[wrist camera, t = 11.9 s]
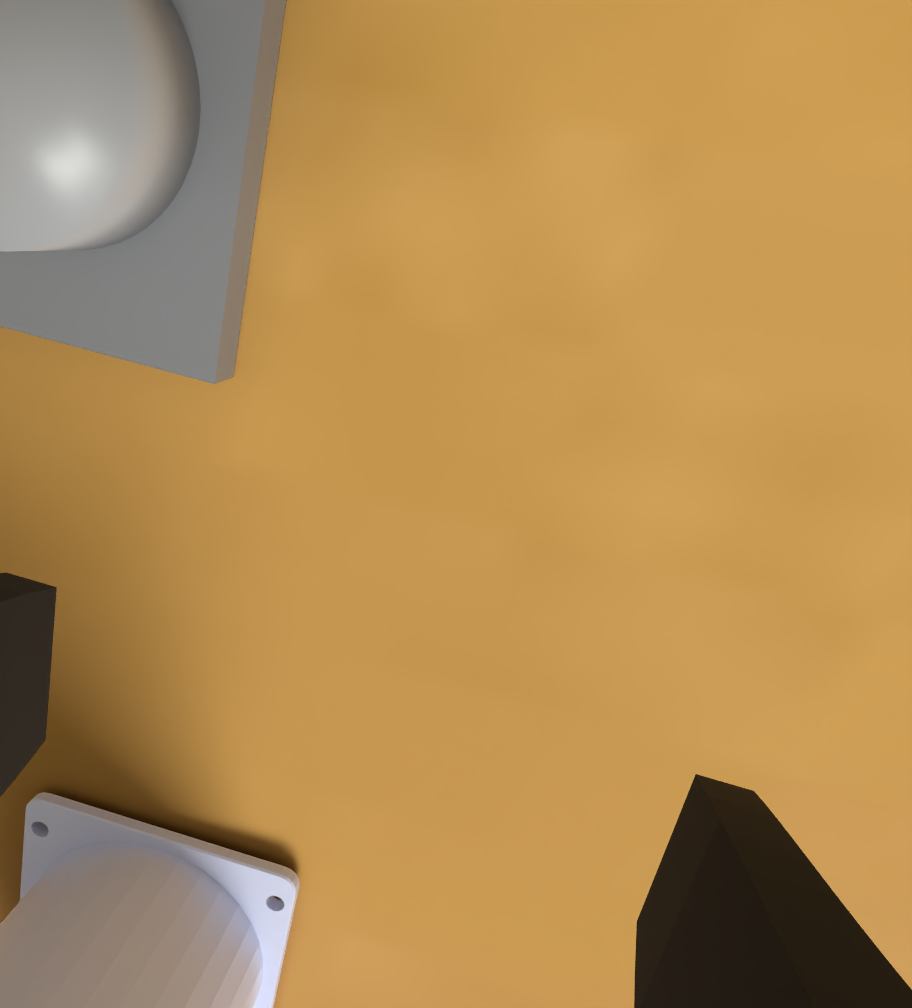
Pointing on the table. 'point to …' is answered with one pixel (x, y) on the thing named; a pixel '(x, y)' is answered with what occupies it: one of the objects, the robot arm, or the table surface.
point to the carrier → (133, 173)
